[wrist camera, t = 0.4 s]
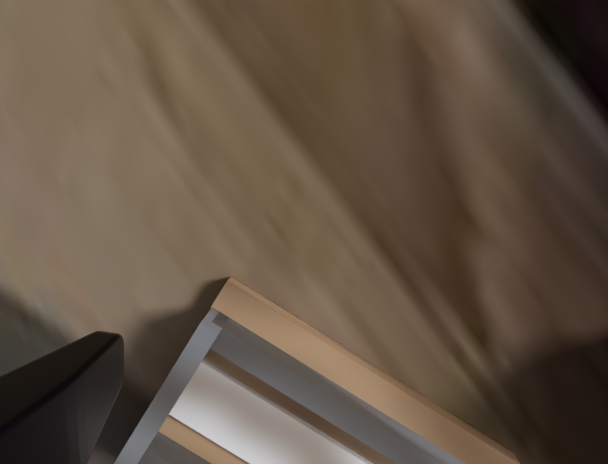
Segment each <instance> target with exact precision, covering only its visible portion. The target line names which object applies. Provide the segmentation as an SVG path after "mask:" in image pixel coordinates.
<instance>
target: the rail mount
mask: <svg viewBox="0 0 608 464" xmlns="http://www.w3.org/2000/svg"><path fill="white" fill-rule="evenodd" d="M114 464H520V462H519V461H518V459H517V458H516V456H515V455H514V453H513V452H511V451H510V450H508V449H507V448H505V447H503V446H502V445H500V444H499V443H497V442H495V441H494V440H492V439H491V438H489V437H487V436H486V435H484V434H483V433H481V432H479V431H478V430H476V429H475V428H473V427H471V426H470V425H468V424H467V423H465V422H463V421H462V420H460V419H458V418H457V417H455V416H454V415H452V414H450V413H449V412H447V411H446V410H444V409H442V408H441V407H439V406H438V405H436V404H434V403H433V402H431V401H430V400H428V399H426V398H425V397H423V396H422V395H420V394H418V393H417V392H415V391H414V390H412V389H410V388H409V387H407V386H405V385H404V384H402V383H401V382H399V381H397V380H396V379H394V378H393V377H391V376H389V375H388V374H386V373H385V372H383V371H381V370H380V369H378V368H377V367H375V366H373V365H372V364H370V363H369V362H367V361H365V360H364V359H362V358H361V357H359V356H357V355H356V354H354V353H352V352H351V351H349V350H348V349H346V348H344V347H343V346H341V345H340V344H338V343H336V342H335V341H333V340H332V339H330V338H328V337H327V336H325V335H324V334H322V333H320V332H319V331H317V330H316V329H314V328H312V327H311V326H309V325H308V324H306V323H304V322H303V321H301V320H300V319H298V318H296V317H295V316H293V315H291V314H290V313H288V312H287V311H285V310H283V309H282V308H280V307H279V306H277V305H275V304H274V303H272V302H271V301H269V300H267V299H266V298H264V297H263V296H261V295H259V294H258V293H256V292H255V291H253V290H251V289H250V288H248V287H247V286H245V285H243V284H242V283H240V282H238V281H237V280H235V279H234V278H232V277H230V278H229V279H228V281H227V282H226V283H225V285H224V286H223V288H222V290H221V291H220V293H219V295H218V296H217V298H216V300H215V301H214V303H213V304H212V306H211V308H210V309H209V311H208V313H207V314H206V316H205V317H204V319H203V320H202V321H201V323H200V324H199V326H198V327H197V329H196V331H195V332H194V334H193V336H192V337H191V339H190V340H189V342H188V344H187V345H186V347H185V349H184V350H183V352H182V353H181V355H180V357H179V358H178V360H177V362H176V363H175V365H174V366H173V368H172V370H171V371H170V373H169V375H168V376H167V378H166V379H165V381H164V383H163V384H162V386H161V388H160V389H159V391H158V393H157V394H156V396H155V397H154V399H153V401H152V402H151V404H150V406H149V407H148V409H147V410H146V412H145V414H144V415H143V417H142V419H141V420H140V422H139V423H138V425H137V427H136V428H135V430H134V432H133V433H132V435H131V436H130V438H129V440H128V441H127V443H126V445H125V446H124V448H123V449H122V451H121V453H120V454H119V456H118V458H117V459H116V461H115V462H114Z"/></svg>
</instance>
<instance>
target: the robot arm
mask: <svg viewBox="0 0 608 464" xmlns="http://www.w3.org/2000/svg"><path fill="white" fill-rule="evenodd" d="M123 379H124V341H123V337H122V336H121V335H120V334H117V333H110V332H103V331H96V332H94V333H91V334H89V335H87V336H85V337H83V338H81V339H79V340H76V341H74V342H72V343H70V344H68V345H66V346H64V347H62V348H60V349H57V350H55V351H53V352H51V353H49V354H47V355H45V356H43V357H41V358H38V359H36V360H34V361H32V362H30V363H28V364H26V365H24V366H22V367H19V368H17V369H15V370H13V371H11V372H9V373H7V374H5V375H3V376H0V464H87V462H88V460H89V458H90V456H91V453H92V451H93V449H94V447H95V444H96V442H97V440H98V438H99V436H100V433H101V431H102V429H103V427H104V424H105V422H106V420H107V418H108V415H109V413H110V411H111V409H112V407H113V404H114V402H115V400H116V398H117V395H118V393H119V391H120V389H121V386H122V383H123Z"/></svg>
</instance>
